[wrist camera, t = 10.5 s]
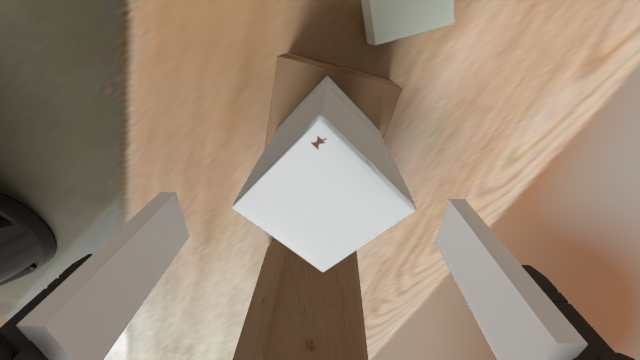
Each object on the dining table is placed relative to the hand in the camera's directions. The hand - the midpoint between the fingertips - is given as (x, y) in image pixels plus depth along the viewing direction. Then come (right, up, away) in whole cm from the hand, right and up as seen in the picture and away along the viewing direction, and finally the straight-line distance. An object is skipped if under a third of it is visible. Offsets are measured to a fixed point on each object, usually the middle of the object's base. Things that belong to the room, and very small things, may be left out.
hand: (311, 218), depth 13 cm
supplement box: (+1, +7, +12) cm, 14 cm away
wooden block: (-1, -7, +26) cm, 27 cm away
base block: (+1, +9, +17) cm, 20 cm away
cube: (+7, +19, +11) cm, 23 cm away
